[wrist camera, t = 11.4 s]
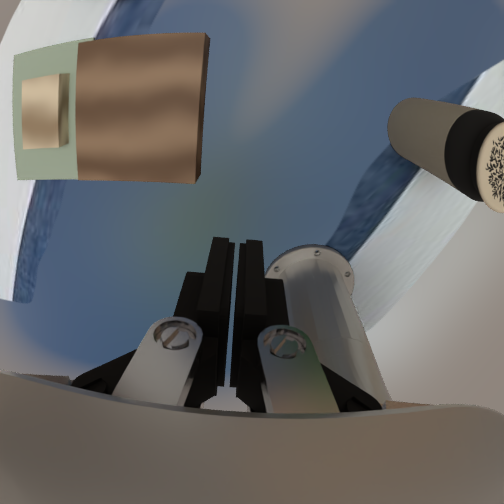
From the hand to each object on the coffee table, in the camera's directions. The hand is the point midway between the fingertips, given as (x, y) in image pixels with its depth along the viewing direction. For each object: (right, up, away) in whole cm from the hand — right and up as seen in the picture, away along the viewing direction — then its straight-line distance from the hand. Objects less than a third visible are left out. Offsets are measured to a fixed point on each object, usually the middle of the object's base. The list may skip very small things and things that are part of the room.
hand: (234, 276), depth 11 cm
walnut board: (-12, +17, +21) cm, 30 cm away
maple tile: (-25, +17, +18) cm, 35 cm away
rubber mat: (-25, +19, +21) cm, 37 cm away
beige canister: (+20, +16, +22) cm, 34 cm away
